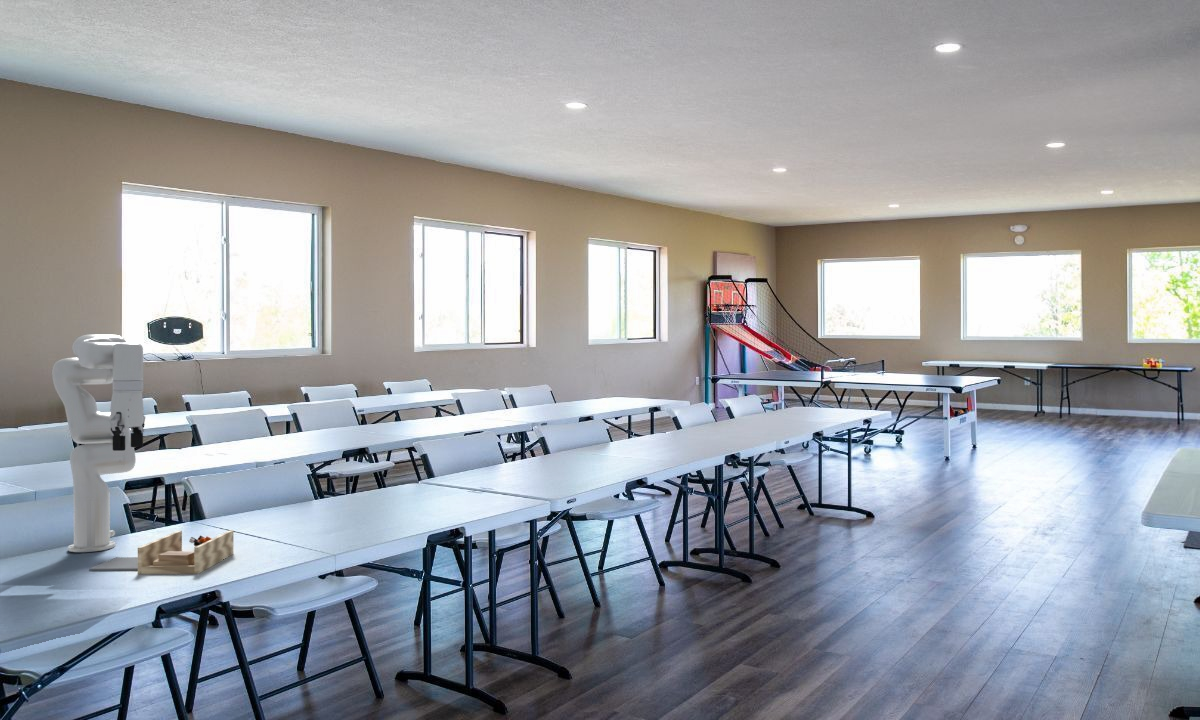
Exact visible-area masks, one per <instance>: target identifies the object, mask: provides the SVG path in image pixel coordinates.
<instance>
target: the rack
mask: <svg viewBox="0 0 1200 720" xmlns="http://www.w3.org/2000/svg"><path fill="white" fill-rule="evenodd" d="M193 550H194V551H193V552H194V565H181V566H153V561H155V560H157V559H159V554H162V553H165V552H167V551H183V531H182V530H177V531H174V532H173V533H170V534H167V535H165V536H162V537H160V538H158V539H156V540H152V541H151V542H148V543H146V544H144V545H141V546H138V547H137V557H138V571H137V575H190V574H191V575H199V574H200V573H203V572H204V571H206V570H208V569H210V568H211V567H214V566H215V565H217V564H218V563H221V562H222V561H224V560H226V559H227V558H229V557H230V556H232V555H233V554H234V530H228V531H226V532H223V533H221V534H219V535H218V536H216V537H213V538H211V540H209V541H207V542H205V543H203V544H201V545H199V546H196V547H195V546H194V549H193ZM231 554H232V555H231ZM229 555H230V556H229ZM228 556H229V557H228ZM226 557H227V558H226ZM225 558H226V559H225ZM223 559H224V560H223Z"/></svg>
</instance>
